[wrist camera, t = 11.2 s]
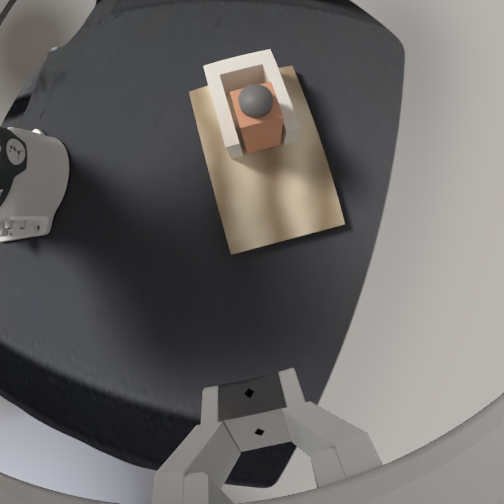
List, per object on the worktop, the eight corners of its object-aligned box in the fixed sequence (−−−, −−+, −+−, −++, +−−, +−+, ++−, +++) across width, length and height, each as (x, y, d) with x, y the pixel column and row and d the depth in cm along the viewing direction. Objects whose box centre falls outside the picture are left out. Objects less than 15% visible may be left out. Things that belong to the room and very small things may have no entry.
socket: (231, 159, 33) (225, 147, 28) (210, 84, 33) (203, 65, 28) (295, 142, 33) (300, 128, 28) (270, 69, 32) (270, 49, 27)
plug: (247, 153, 33) (239, 123, 23) (238, 124, 33) (227, 86, 23) (279, 145, 33) (284, 112, 23) (270, 116, 33) (271, 75, 22)
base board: (232, 253, 36) (230, 254, 34) (191, 96, 35) (189, 91, 33) (342, 224, 35) (345, 224, 33) (291, 71, 34) (292, 65, 32)
